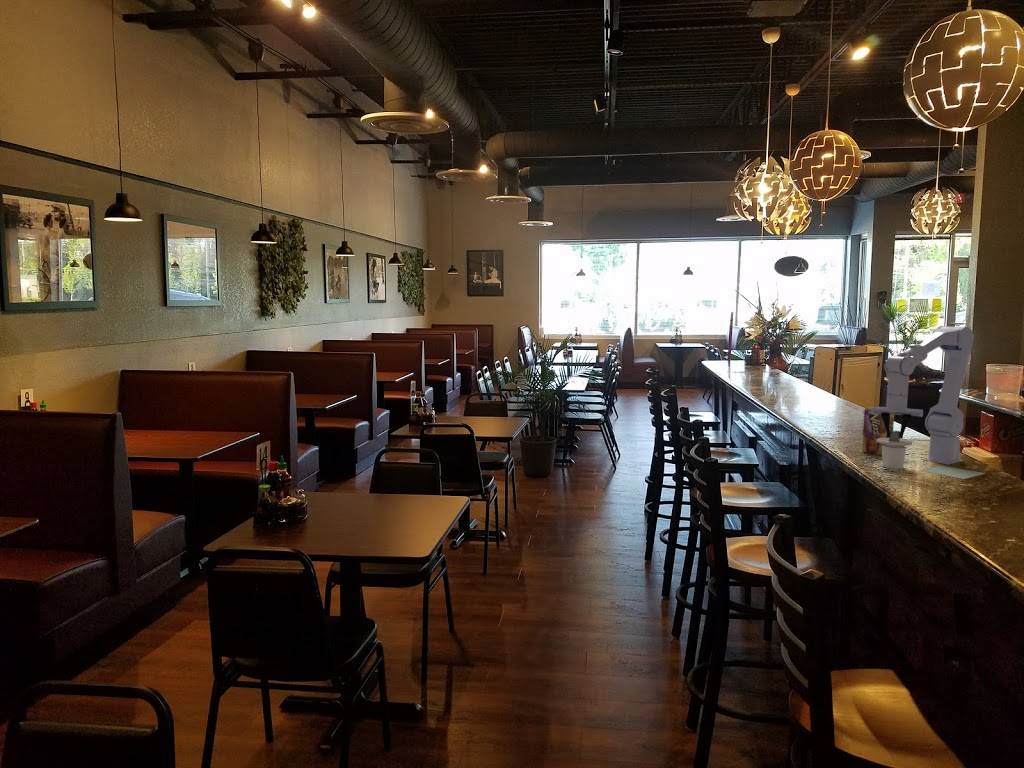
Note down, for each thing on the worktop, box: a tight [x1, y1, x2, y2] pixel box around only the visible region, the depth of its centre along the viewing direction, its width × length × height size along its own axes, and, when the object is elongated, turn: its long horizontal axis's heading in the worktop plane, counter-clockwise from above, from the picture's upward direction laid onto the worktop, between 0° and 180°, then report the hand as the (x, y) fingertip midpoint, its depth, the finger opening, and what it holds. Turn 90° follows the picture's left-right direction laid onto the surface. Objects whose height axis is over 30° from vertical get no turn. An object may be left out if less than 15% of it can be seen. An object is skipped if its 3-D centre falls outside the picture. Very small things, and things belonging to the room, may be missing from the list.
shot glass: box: [881, 444, 907, 470], centre depth 232 cm, size 7×7×7 cm
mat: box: [919, 464, 986, 480], centre depth 225 cm, size 13×13×1 cm
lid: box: [876, 429, 913, 447], centre depth 231 cm, size 10×10×4 cm
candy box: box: [861, 407, 895, 456], centre depth 253 cm, size 9×4×15 cm, turn 26°
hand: (894, 437), depth 231 cm, fingers closed on lid, 3 cm apart
